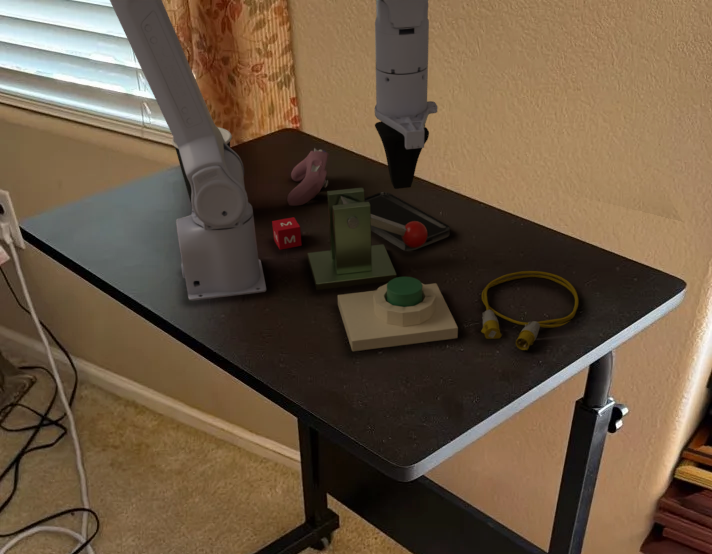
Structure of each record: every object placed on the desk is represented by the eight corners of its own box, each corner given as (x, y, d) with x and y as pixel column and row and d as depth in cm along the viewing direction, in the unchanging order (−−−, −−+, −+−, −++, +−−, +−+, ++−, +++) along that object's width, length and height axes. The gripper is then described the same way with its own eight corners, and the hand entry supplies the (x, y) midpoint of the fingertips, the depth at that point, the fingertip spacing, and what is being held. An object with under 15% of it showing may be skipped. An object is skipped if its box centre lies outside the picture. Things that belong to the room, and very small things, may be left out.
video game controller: (314, 218, 126) (334, 175, 122) (284, 205, 125) (303, 161, 120) (317, 188, 133) (336, 147, 129) (289, 176, 132) (307, 133, 128)
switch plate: (352, 353, 98) (351, 327, 95) (338, 307, 105) (336, 281, 103) (457, 340, 99) (458, 313, 97) (436, 295, 106) (436, 269, 104)
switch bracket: (383, 252, 115) (383, 179, 108) (396, 282, 109) (396, 208, 102) (307, 261, 114) (302, 188, 107) (316, 292, 108) (311, 217, 101)
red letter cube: (295, 237, 118) (294, 217, 116) (301, 247, 116) (300, 226, 114) (274, 242, 118) (272, 221, 116) (280, 252, 116) (277, 230, 114)
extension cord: (437, 317, 103) (438, 302, 101) (525, 269, 110) (527, 254, 109) (518, 359, 96) (520, 344, 94) (606, 305, 103) (609, 290, 102)
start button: (390, 310, 98) (390, 296, 97) (383, 292, 101) (383, 278, 100) (425, 305, 99) (426, 292, 97) (417, 288, 102) (417, 274, 100)
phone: (385, 190, 125) (453, 228, 116) (385, 198, 126) (453, 236, 117) (339, 206, 122) (406, 246, 113) (340, 214, 123) (406, 254, 114)
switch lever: (417, 243, 112) (428, 221, 110) (423, 255, 110) (434, 232, 108) (331, 214, 107) (341, 190, 105) (335, 226, 105) (345, 202, 103)
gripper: (453, 84, 91) (448, 208, 100) (422, 43, 102) (420, 158, 111) (386, 90, 90) (388, 215, 99) (362, 48, 101) (365, 164, 110)
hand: (401, 185), depth 105 cm, fingers closed
